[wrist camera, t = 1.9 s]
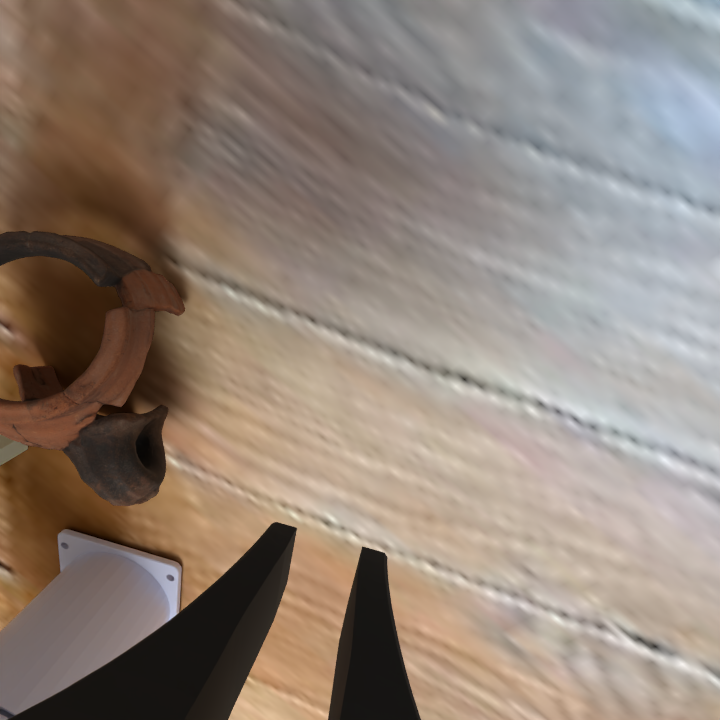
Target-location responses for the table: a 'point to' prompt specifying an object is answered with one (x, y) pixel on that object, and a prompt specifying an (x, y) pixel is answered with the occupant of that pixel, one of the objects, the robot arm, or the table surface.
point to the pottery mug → (97, 376)
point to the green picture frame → (10, 449)
